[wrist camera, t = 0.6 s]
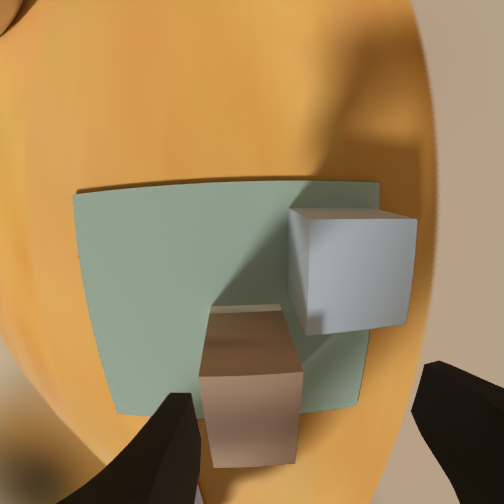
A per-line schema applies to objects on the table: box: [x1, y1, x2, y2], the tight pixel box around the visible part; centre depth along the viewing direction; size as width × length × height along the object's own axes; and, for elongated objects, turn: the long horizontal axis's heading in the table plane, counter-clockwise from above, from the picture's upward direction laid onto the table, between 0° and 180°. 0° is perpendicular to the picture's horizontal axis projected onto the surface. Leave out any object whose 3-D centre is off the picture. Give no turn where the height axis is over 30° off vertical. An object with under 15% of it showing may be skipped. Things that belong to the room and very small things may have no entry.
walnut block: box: [198, 304, 303, 468], centre depth 15 cm, size 6×4×7 cm, turn 2°
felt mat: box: [73, 181, 380, 419], centre depth 18 cm, size 16×18×1 cm
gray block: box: [288, 208, 417, 336], centre depth 15 cm, size 5×5×5 cm
